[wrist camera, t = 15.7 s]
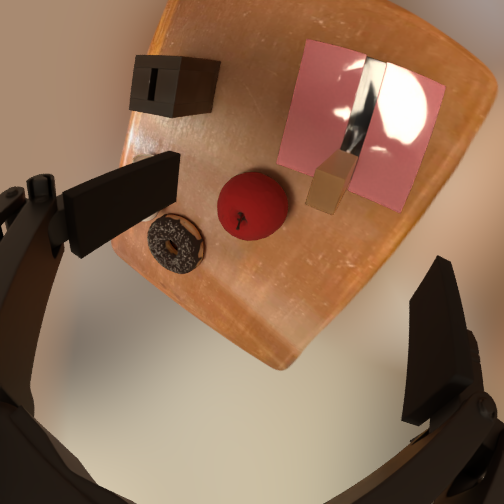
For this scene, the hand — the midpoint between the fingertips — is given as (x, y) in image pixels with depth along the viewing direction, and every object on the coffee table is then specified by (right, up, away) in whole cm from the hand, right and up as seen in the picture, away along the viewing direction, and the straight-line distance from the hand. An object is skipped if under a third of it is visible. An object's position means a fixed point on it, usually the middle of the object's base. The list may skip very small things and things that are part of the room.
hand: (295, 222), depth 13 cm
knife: (+11, +11, +20) cm, 25 cm away
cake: (+12, +15, +18) cm, 26 cm away
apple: (0, +7, +30) cm, 30 cm away
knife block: (-11, +24, +25) cm, 36 cm away
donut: (-15, +1, +41) cm, 44 cm away
